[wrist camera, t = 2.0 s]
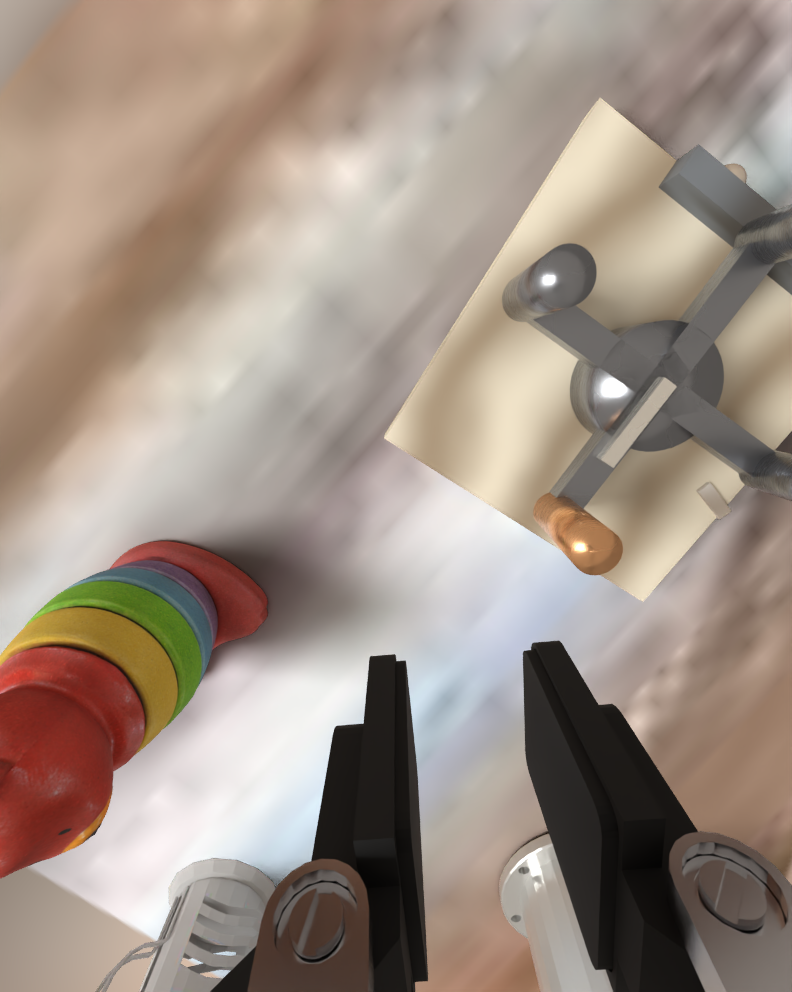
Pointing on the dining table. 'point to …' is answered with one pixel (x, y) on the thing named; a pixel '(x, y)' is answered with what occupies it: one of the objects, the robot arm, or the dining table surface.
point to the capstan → (645, 381)
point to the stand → (613, 303)
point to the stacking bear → (106, 685)
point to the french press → (204, 925)
